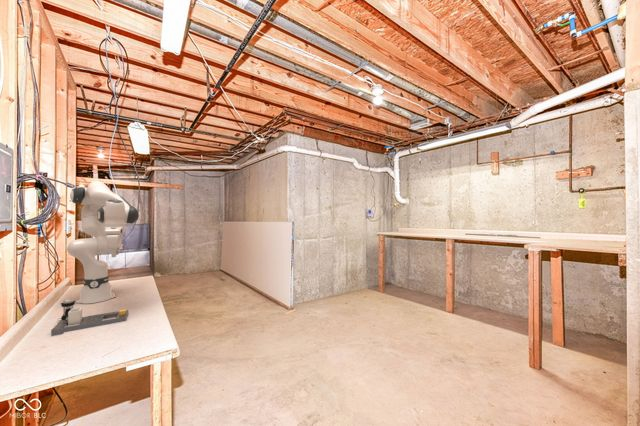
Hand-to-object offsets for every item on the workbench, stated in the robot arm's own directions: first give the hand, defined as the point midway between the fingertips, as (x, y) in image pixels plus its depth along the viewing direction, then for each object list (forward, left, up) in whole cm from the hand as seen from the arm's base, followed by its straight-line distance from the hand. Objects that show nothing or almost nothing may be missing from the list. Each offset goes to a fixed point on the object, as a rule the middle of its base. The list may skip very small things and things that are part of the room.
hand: (115, 255), depth 138 cm
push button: (-3, -20, -31) cm, 37 cm away
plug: (+12, -13, -31) cm, 35 cm away
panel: (+12, -7, -31) cm, 34 cm away
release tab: (+12, +4, -30) cm, 33 cm away
